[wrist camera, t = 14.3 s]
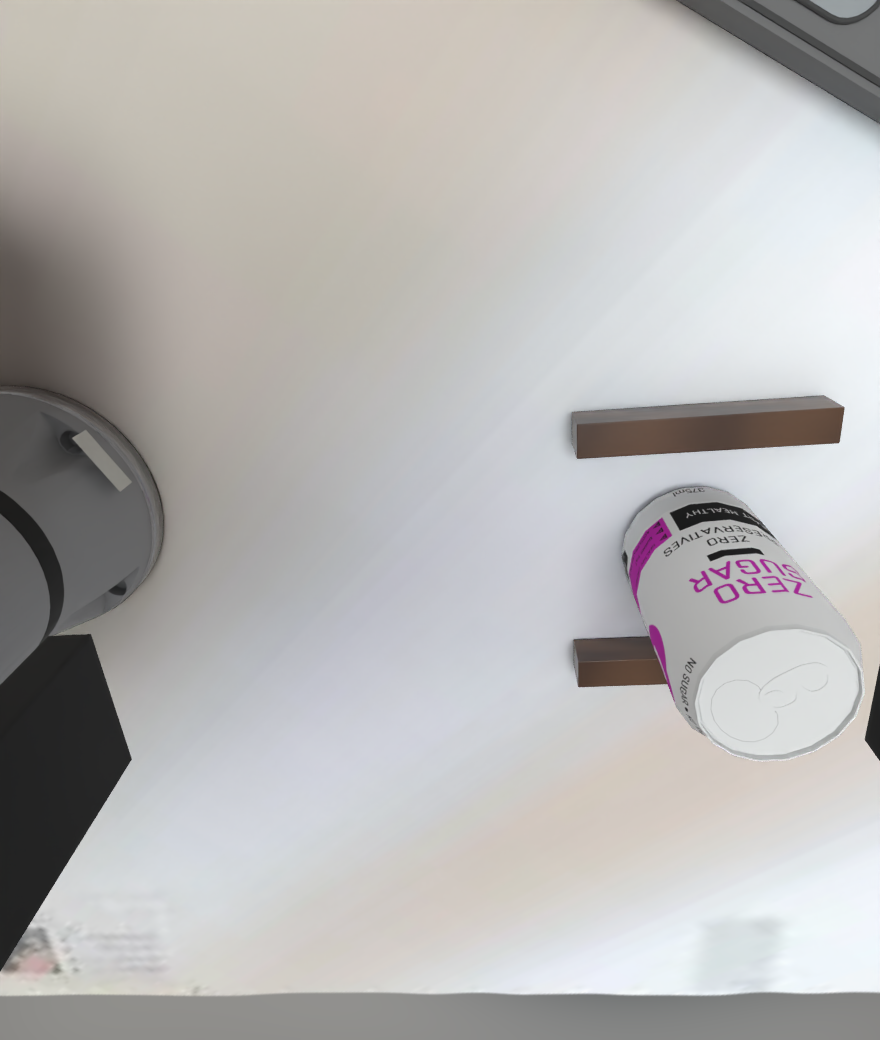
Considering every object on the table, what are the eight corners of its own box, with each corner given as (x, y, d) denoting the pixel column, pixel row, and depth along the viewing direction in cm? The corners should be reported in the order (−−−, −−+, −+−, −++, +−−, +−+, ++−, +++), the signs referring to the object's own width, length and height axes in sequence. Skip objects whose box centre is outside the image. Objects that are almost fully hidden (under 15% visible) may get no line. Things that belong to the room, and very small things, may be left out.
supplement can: (662, 623, 47) (737, 799, 33) (594, 529, 44) (645, 677, 31) (779, 559, 44) (911, 719, 31) (714, 456, 42) (827, 580, 28)
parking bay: (573, 664, 48) (578, 687, 46) (571, 411, 41) (576, 424, 39) (788, 656, 47) (804, 679, 45) (824, 395, 40) (845, 407, 38)
